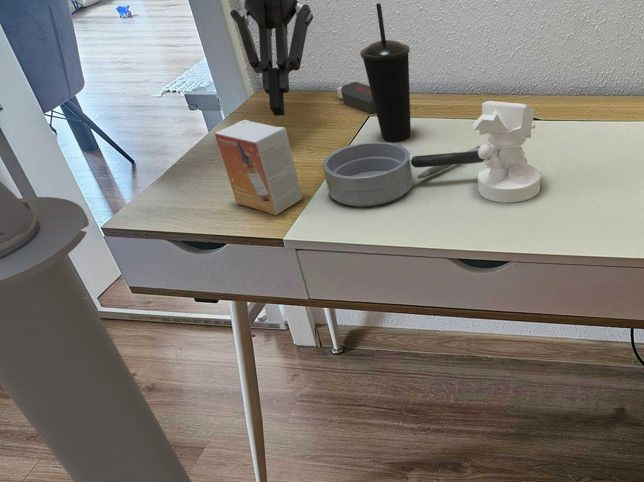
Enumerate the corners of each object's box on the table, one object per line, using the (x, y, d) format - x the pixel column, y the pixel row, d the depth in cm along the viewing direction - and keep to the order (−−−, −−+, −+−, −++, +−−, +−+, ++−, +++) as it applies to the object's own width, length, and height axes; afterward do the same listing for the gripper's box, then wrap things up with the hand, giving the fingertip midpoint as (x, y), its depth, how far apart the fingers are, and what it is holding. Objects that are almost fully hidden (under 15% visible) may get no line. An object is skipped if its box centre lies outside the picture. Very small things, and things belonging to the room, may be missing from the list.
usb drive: (371, 113, 114) (369, 98, 113) (334, 100, 121) (331, 85, 120) (393, 105, 117) (391, 90, 115) (356, 92, 124) (354, 78, 122)
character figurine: (468, 197, 87) (462, 110, 79) (494, 168, 93) (491, 86, 86) (528, 206, 84) (528, 117, 76) (550, 176, 90) (553, 91, 82)
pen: (487, 152, 98) (486, 144, 97) (420, 184, 91) (419, 175, 90) (482, 151, 98) (482, 142, 98) (415, 182, 91) (414, 173, 91)
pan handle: (411, 170, 89) (410, 159, 88) (411, 165, 90) (410, 154, 89) (486, 163, 89) (485, 153, 87) (485, 159, 90) (484, 148, 89)
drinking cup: (398, 149, 101) (379, 12, 88) (364, 140, 105) (341, 7, 92) (428, 132, 106) (414, 0, 93) (395, 124, 109) (377, -4, 96)
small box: (236, 204, 90) (212, 132, 83) (264, 188, 93) (243, 118, 86) (276, 216, 86) (254, 142, 79) (304, 199, 90) (285, 126, 83)
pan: (324, 212, 86) (317, 181, 83) (334, 173, 96) (328, 145, 93) (412, 205, 86) (408, 174, 83) (413, 167, 96) (410, 138, 93)
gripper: (315, -17, 105) (323, 119, 103) (238, -11, 105) (245, 125, 103) (303, -49, 97) (312, 97, 95) (220, -43, 97) (227, 103, 95)
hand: (277, 111), depth 99 cm, fingers closed
